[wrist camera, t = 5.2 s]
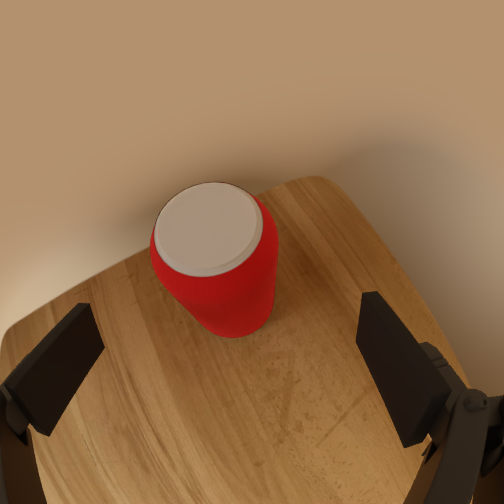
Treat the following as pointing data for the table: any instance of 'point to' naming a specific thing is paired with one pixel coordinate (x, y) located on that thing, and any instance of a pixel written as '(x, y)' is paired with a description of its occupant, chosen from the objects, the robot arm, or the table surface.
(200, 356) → the table surface
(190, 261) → the beverage can
